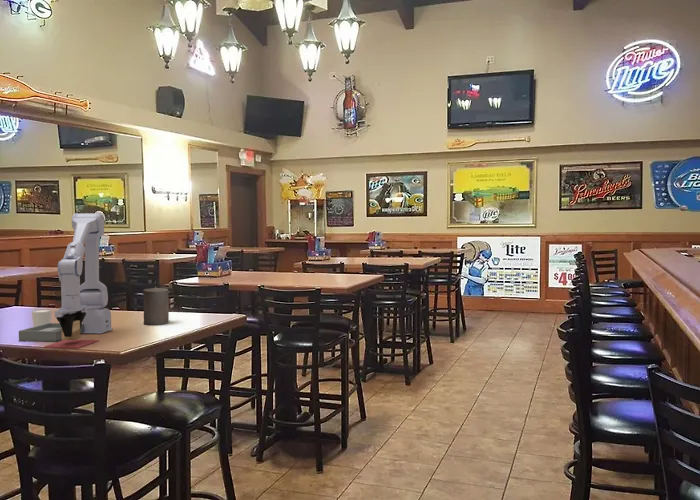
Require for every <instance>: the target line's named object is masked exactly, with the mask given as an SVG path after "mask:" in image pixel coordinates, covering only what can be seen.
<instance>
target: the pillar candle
mask: <svg viewBox="0 0 700 500" xmlns="http://www.w3.org/2000/svg"><path fill="white" fill-rule="evenodd" d="M142 296H143V297H142V298H143V325H145V326H163V325H167V323H168V324H169V321H170V317H169V316H170V315H169V306H170V305H169V289H168V288H163V287H162V288H161V287H160V288H159V287H157V286H155V287H151V288H145V289H143V295H142Z"/></svg>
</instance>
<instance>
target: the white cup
mask: <svg viewBox="0 0 700 500" xmlns="http://www.w3.org/2000/svg"><path fill="white" fill-rule="evenodd" d="M52 311H53V310H51V309H40V310H39V309H37V310H33V311H31V315H32V322H33V323H32V324H33V327H35V326H39V325H43V324H47V323H52Z"/></svg>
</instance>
